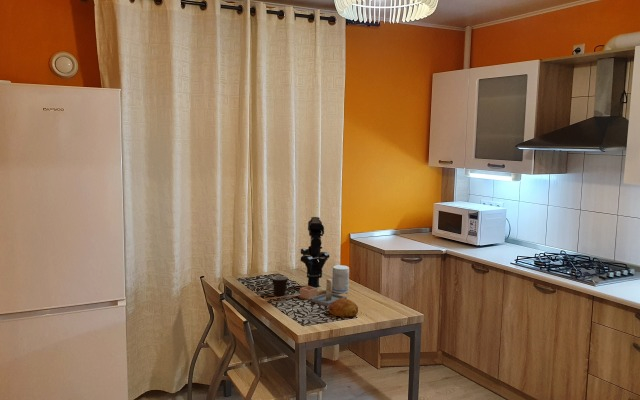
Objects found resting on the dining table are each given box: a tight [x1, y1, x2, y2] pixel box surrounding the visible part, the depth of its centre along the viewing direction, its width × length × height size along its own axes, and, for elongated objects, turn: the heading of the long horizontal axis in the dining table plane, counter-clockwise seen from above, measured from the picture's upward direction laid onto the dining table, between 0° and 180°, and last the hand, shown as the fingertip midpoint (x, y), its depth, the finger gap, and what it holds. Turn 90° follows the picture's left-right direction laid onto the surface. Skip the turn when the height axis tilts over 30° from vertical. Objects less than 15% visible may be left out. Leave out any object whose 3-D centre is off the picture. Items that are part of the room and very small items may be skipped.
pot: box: [299, 285, 318, 300], centre depth 280 cm, size 7×7×6 cm
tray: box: [310, 292, 348, 307], centre depth 275 cm, size 16×12×2 cm
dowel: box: [325, 278, 333, 301], centre depth 275 cm, size 3×3×11 cm
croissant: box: [327, 298, 359, 318], centre depth 258 cm, size 14×16×8 cm
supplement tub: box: [331, 264, 350, 294], centre depth 293 cm, size 10×10×15 cm
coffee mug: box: [271, 275, 289, 297], centre depth 284 cm, size 12×9×10 cm
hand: (314, 272), depth 286 cm, fingers open, 9 cm apart
